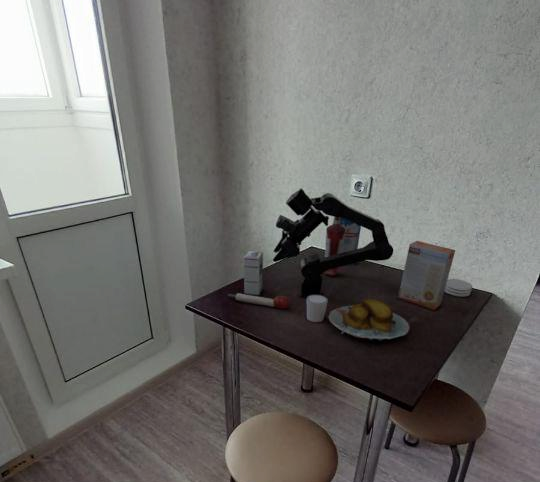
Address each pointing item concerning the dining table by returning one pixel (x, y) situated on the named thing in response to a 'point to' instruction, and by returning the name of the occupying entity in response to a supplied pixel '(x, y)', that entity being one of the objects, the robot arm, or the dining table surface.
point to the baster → (263, 300)
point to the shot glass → (316, 308)
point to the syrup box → (253, 273)
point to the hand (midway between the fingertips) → (274, 256)
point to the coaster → (458, 288)
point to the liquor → (334, 242)
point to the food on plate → (369, 320)
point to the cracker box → (426, 274)
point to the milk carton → (350, 235)
